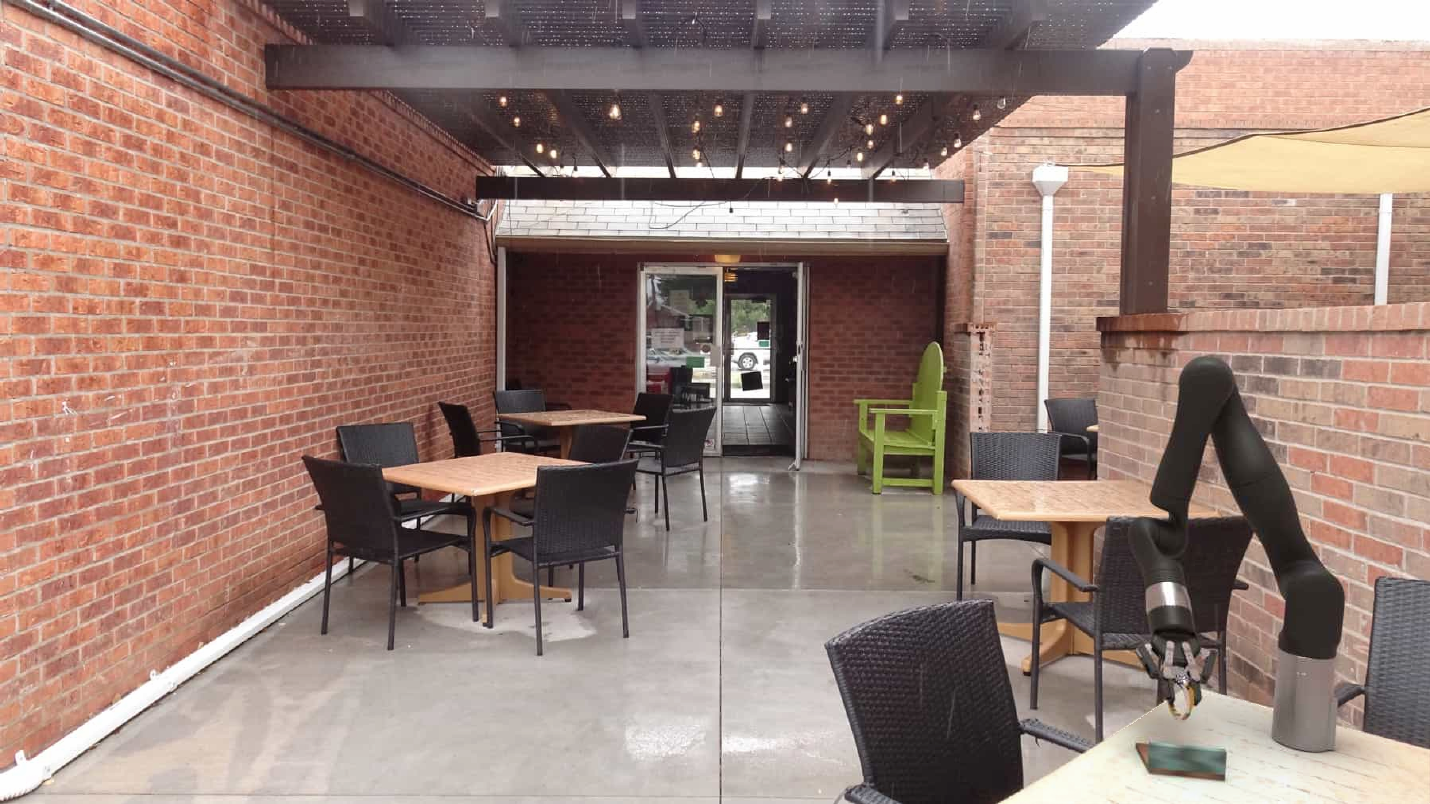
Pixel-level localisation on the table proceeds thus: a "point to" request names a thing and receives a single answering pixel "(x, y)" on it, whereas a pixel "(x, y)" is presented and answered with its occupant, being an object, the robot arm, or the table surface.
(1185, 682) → the gold diamond ring
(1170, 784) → the table surface
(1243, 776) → the table surface
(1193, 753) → the desk nameplate
